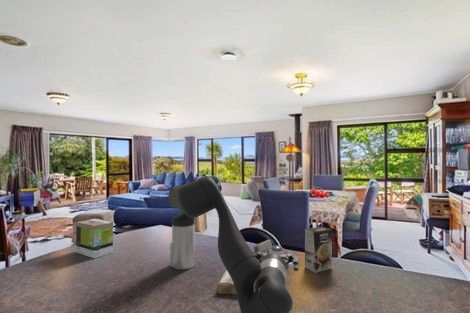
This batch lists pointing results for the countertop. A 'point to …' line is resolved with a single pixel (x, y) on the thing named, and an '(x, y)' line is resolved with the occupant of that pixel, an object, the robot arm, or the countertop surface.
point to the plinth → (226, 284)
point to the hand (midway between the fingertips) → (275, 252)
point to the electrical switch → (263, 247)
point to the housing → (277, 250)
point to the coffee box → (318, 249)
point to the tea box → (94, 237)
